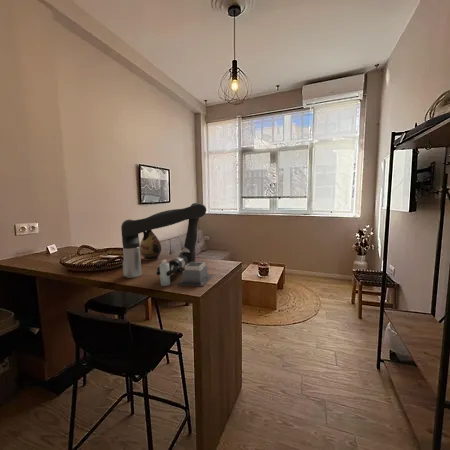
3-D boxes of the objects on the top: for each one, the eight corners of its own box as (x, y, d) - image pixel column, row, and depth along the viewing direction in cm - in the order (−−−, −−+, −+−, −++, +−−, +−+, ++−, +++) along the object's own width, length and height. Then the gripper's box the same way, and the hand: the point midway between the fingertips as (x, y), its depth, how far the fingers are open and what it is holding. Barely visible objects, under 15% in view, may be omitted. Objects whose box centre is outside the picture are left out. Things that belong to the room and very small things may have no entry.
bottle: (158, 285, 130) (157, 261, 129) (163, 282, 135) (162, 259, 134) (167, 286, 129) (166, 261, 128) (171, 282, 134) (170, 259, 132)
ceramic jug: (154, 255, 197) (152, 217, 193) (166, 258, 186) (163, 218, 183) (134, 260, 184) (131, 219, 180) (145, 263, 174) (142, 220, 170)
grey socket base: (177, 285, 131) (176, 267, 129) (189, 275, 146) (188, 259, 145) (202, 286, 127) (202, 269, 126) (211, 276, 143) (211, 260, 142)
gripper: (164, 258, 147) (149, 266, 130) (187, 258, 143) (174, 267, 127) (165, 270, 147) (150, 280, 131) (188, 271, 144) (175, 281, 128)
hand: (162, 273), depth 129 cm, fingers closed on bottle, 5 cm apart
